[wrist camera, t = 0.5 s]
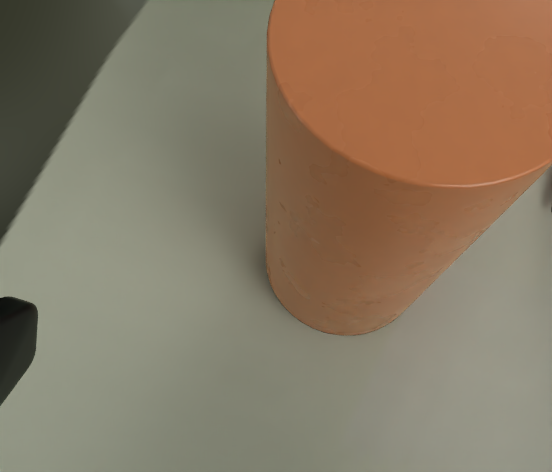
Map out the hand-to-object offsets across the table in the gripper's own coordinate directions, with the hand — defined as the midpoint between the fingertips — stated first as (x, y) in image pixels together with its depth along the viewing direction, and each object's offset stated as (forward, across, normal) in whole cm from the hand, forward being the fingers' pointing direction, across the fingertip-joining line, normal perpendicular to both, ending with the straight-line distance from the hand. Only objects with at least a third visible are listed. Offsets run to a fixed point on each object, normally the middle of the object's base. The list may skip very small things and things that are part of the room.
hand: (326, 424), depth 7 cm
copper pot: (+16, 0, +3) cm, 16 cm away
